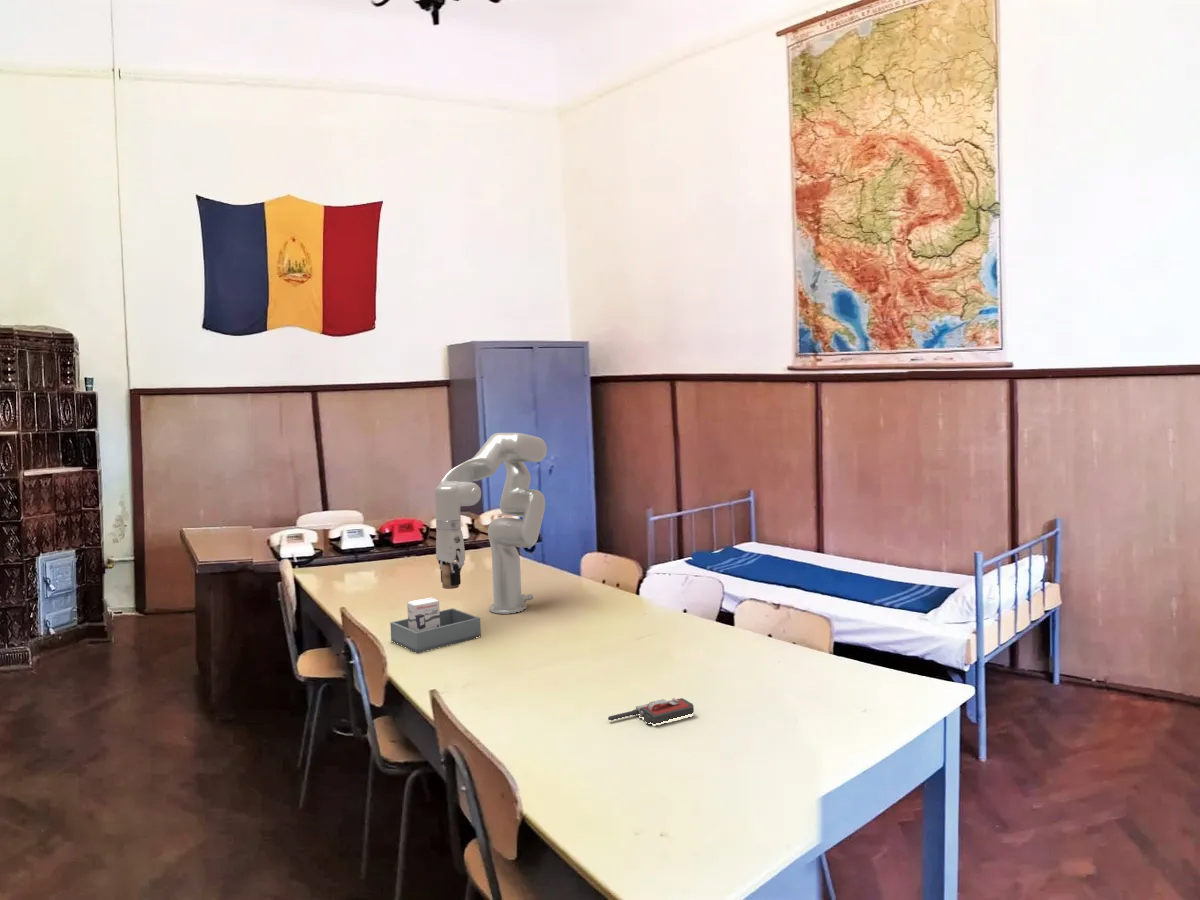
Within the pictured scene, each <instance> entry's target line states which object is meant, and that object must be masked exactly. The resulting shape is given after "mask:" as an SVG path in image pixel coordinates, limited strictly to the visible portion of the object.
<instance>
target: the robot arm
mask: <svg viewBox="0 0 1200 900" xmlns="http://www.w3.org/2000/svg"><path fill="white" fill-rule="evenodd" d="M547 452H548V447H547V443H546V442H545V441H544V439H543V438H541V437H539V436H535V435H530V434H526V433H521V432H495V433H493V434H492V435H490V436H489V437H488V439H487V440H486V442H485V443H484V444H483V445H482V446H481V447H480V449H479V450H478V451H477V452H476V454H475V455H474V456H473V457H472V458H470V459H467V460H466V461H464V462H462V463H460V464H458V465H457V466H455V467H452V469H449V471H448V472H447V473H446V474H445V475H444V476H443V477H442V479H441V480H440V482H439V483H438V486H436V487H435V489H434V505H435V506H434V507H435V511H434V512H435V530H436V536H435V538H436V539H435V555H436V556H435V558H436V560H437V562H438V565H439V570H440V582H441V583H442V564H445V563H450V566H451V571H452V573H450V577H451V586H455V585H459V586H460V585H461V582H462V581H461V579H462V578H461V572H462V568H463V566H464V565H465V560H466V550H465V540H464V535H463V530H462V521H461V520H462V519H461V507H470V506H475V505H476V504H478V503H479V502H480V500H481V497H482V489H481V487H480V486H479V485H478V484H477V483H476V482H477V481H481V480H484V479H487V478H490V477H491V476H493V475H494V474H495V473H496V472H497V470H498V469H499V468H500V466H501V465H502V464H504V466H505V470H506V477H505V481H504V485H503V490H502V493H501V497H500V502H499V510H500V512H501V513H502V514H503V515H506V516H511V517H498V518H497V517H496V518H495V519H493V520H492V521H491V522H490V523H489V525H488V528H487V536H488V542H489V545H490V551H491V565H492V568H491V569H492V591H493V604H490V605H489V607H488V608H489V611H490V612H491V613H494V614H500V615H509V614H510V613H511V614H517V613H516V612H518V613H521V612H524V611H525V610H526V609H527V604H526V603H525V602H527V601H532V600H533V599H534V594H532V593H530V594H524V593H522V578H521V572H522V571H521V558H520V554H519V551H518V549H517V548H524V549H525V548H531V547H533V546H535V545H536V543H537V541H538V539H539V536H540V531H541V527H542V523H543V520H544V514H545V511H546V510H545V509H546V499H545V496H544V493H543V492H541V490H538V489H535V488H534V489H533V488H532V489H530V484H531V473H530V471H529V468H528V467H527V465H526V464H525V463H526V462H527V463H539V462H542V461H543V460H544V459H545V457H546V456H547ZM514 517H521V518H514ZM522 517H523V518H522ZM454 564H457V565H456V566H455V567H454ZM524 609H525V610H524ZM523 610H524V611H523ZM520 611H521V612H520Z"/></svg>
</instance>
